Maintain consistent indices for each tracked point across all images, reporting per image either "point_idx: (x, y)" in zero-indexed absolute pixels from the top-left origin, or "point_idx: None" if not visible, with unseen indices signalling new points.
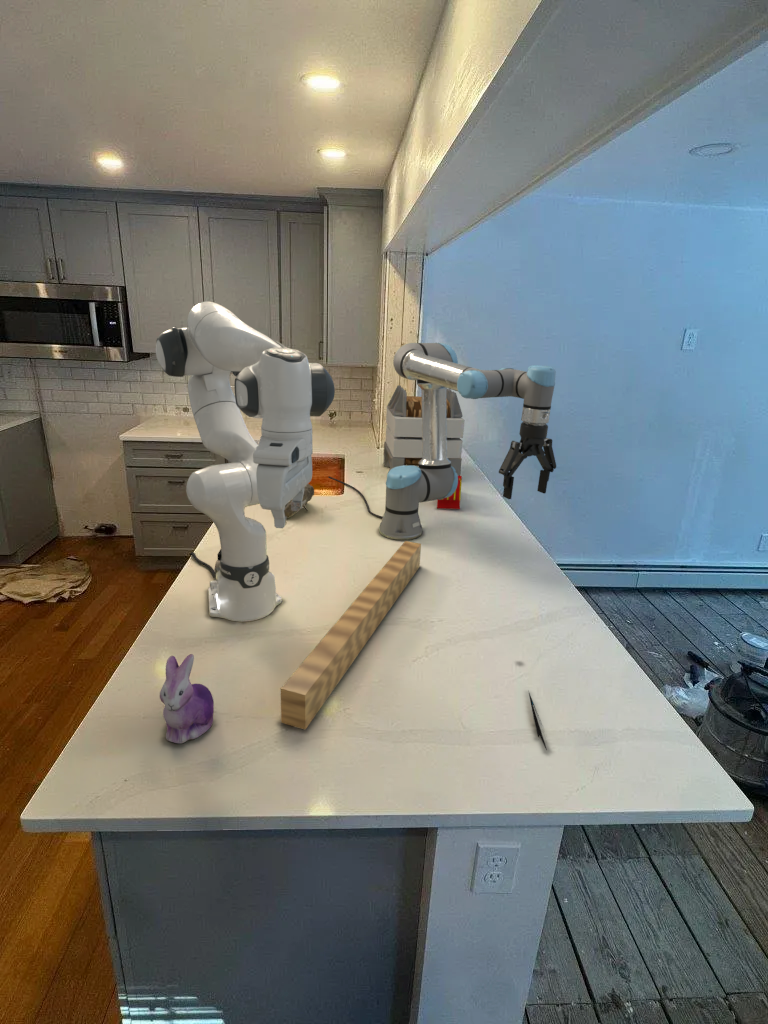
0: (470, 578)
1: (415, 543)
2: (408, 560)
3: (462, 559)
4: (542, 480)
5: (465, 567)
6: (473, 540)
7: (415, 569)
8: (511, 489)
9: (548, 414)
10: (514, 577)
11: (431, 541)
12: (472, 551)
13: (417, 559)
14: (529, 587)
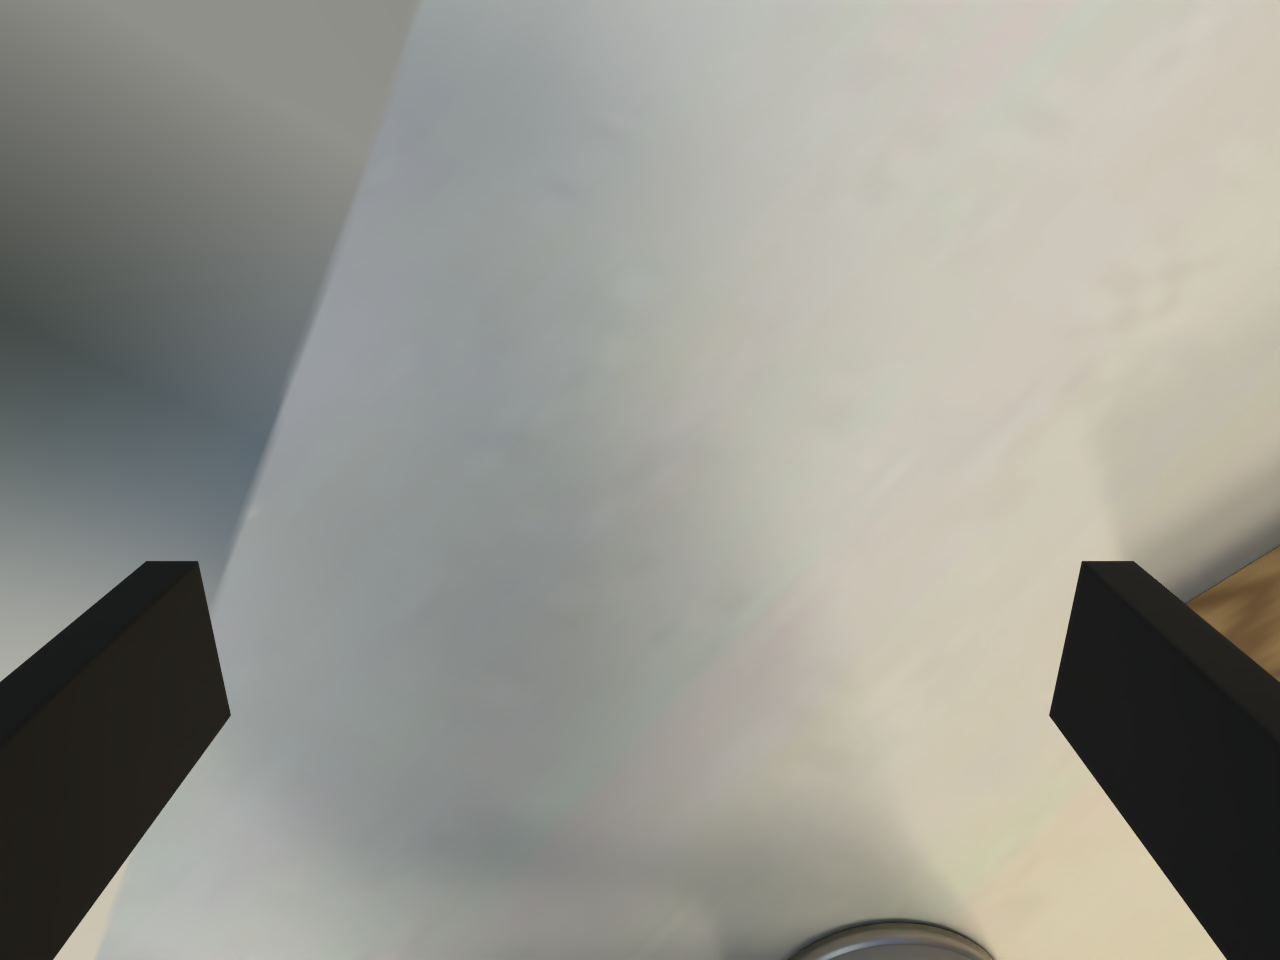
0: (982, 376)
1: None
2: None
3: (818, 613)
4: (56, 817)
5: (888, 517)
6: (555, 792)
7: (1239, 592)
8: (1240, 676)
9: None
10: (697, 254)
11: (806, 868)
12: (674, 677)
13: (1246, 641)
14: (715, 69)
